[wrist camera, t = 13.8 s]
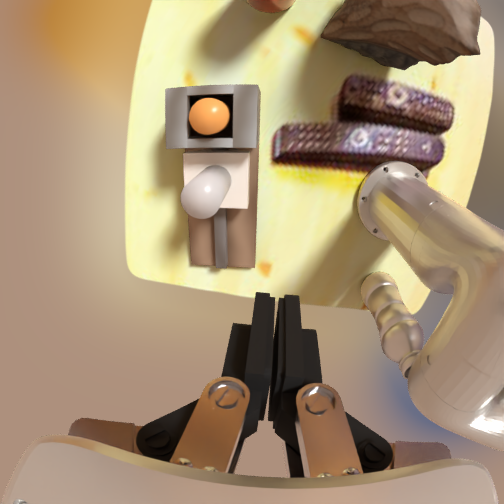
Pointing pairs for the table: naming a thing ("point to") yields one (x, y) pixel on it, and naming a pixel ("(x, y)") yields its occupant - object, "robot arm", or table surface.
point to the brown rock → (407, 30)
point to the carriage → (215, 181)
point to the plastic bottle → (393, 320)
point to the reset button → (210, 116)
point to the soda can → (271, 5)
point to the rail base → (235, 217)
